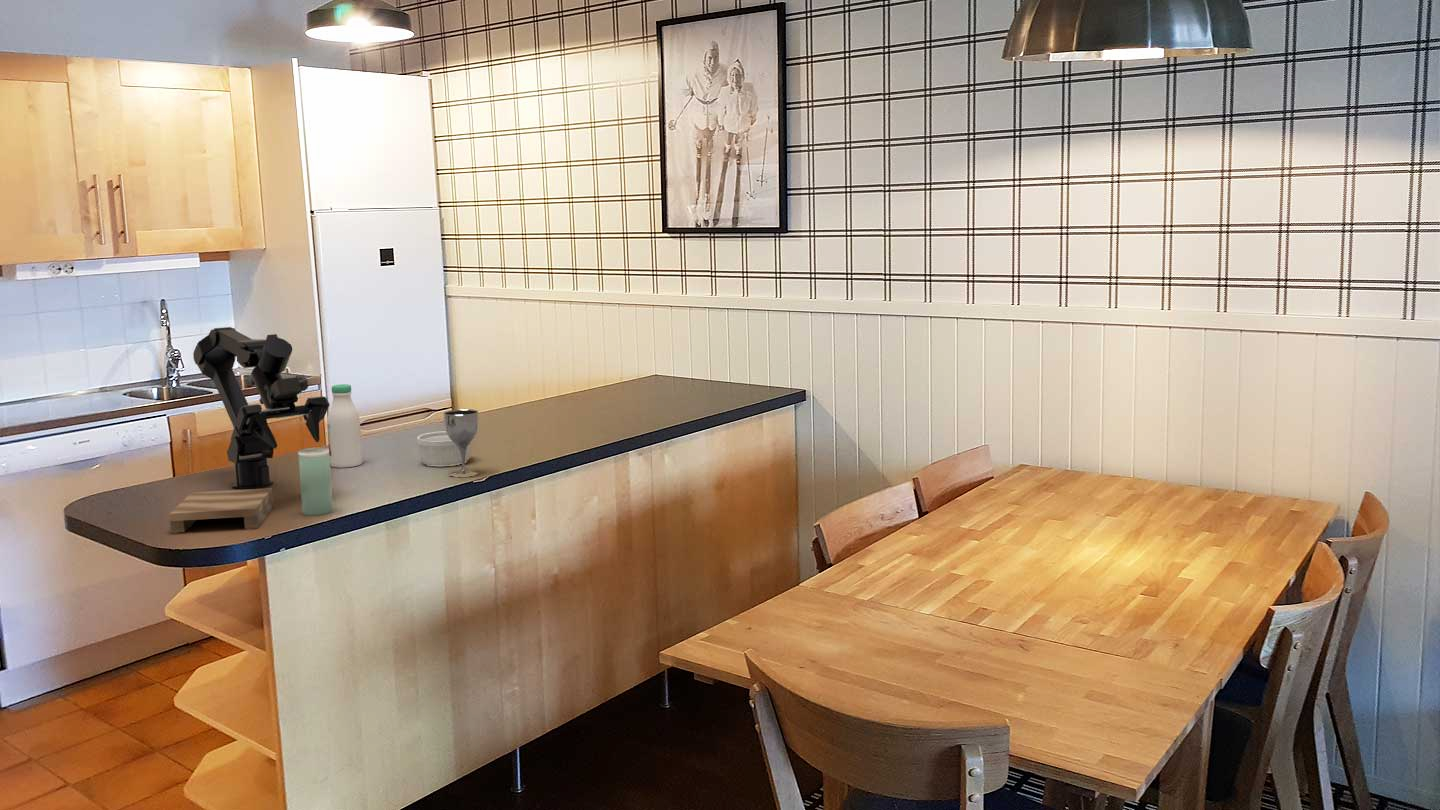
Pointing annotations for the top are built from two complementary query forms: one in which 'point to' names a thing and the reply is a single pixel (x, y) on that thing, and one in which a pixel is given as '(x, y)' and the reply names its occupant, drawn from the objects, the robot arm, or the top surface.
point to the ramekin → (439, 449)
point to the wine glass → (461, 430)
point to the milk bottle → (344, 429)
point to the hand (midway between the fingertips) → (297, 444)
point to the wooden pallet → (223, 507)
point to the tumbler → (315, 481)
